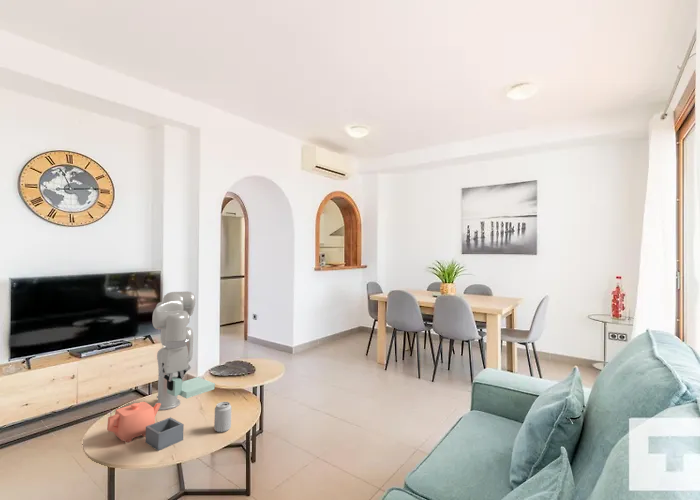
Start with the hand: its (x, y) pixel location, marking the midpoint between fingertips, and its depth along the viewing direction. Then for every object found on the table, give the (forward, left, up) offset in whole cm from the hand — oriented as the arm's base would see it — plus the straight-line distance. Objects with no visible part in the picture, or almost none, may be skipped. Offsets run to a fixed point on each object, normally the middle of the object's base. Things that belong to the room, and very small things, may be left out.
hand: (174, 388), depth 147 cm
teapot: (-29, -1, -28) cm, 41 cm away
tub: (-13, +4, -28) cm, 31 cm away
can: (-2, +26, -28) cm, 38 cm away
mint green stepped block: (0, +7, -3) cm, 7 cm away
